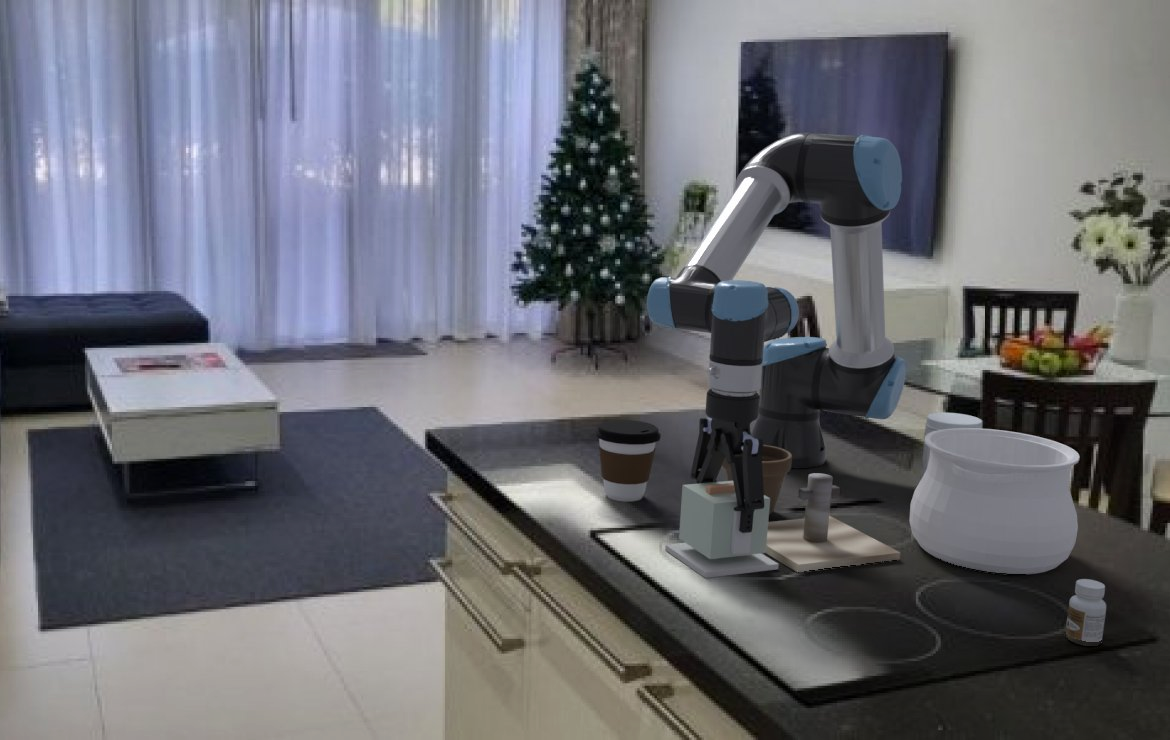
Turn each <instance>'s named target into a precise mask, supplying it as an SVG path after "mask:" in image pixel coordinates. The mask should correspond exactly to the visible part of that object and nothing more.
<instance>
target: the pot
mask: <svg viewBox="0 0 1170 740" xmlns="http://www.w3.org/2000/svg"><path fill="white" fill-rule="evenodd" d="M925 444H926V445H927V446H928V447H930V457H929V462H928V467H927V470H926V472H925V474H924V475H923V477H922V479H921V478H920V480H921V481H919V483H918V484H917V487H915V489H914V492H913V495H912V499H911V501H910V509H909V525H910V529H911V533H912V536H913V538H914V539H915V540H916V541H917V543H918V544H919V546H920V547H921V548H922V549H923V550H924V551H925V552H927V553H928V554H929V555H931V556H933V557H934V558H936V559H939V560H940V559H941V561H943V562H945V563H947V562H948V563H947V564H950V563H951V565H953V564H954V566H956V565H957V567H959V566H962V567H961V568H963V567H966V568H965V569H967V568H971V569H976V570H982V571H987V572H986V573H988V572H996V573H1007V574H1026V575H1036V574H1041V573H1046V572H1049V571H1051V570H1053V569H1054V570H1055V569H1056V568H1057V567H1059V566H1060V565H1061V564H1062V563H1064V561H1066V560H1067V559H1068V558H1069V556H1070V555H1071V553H1072V551H1073V549H1074V547H1075V545H1076V543H1077V542H1076V541H1077V534H1078V531H1079V526H1078V525H1079V524H1078V523H1079V522H1078V514H1077V510H1076V507H1075V505H1074V500H1073V497H1072V493H1071V490H1070V484H1071V483H1070V482H1071V481H1070V479H1071V477H1070V476H1071V471H1072V470H1071V469H1072V467H1073V466H1074V465H1076V464H1078V463H1079V461H1080V458H1081V457H1080V454H1079V453H1078V451H1076V450H1075V449H1073V448H1072V447H1070V446H1068V445H1066V444H1063V443H1060V442H1058V441H1055V440H1052V439H1049V438H1044V437H1040V436H1038V435H1037V436H1036V435H1032V434H1027V433H1023V432H1015V431H1009V430H1002V429H1001V430H1000V429H992V428H982V429H980V428H951V429H942V430H937V431H933V432H930V433H928V434H927V435H926V436H925ZM971 569H970V570H971ZM976 570H975V571H976ZM1007 574H1006V575H1007Z"/></svg>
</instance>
